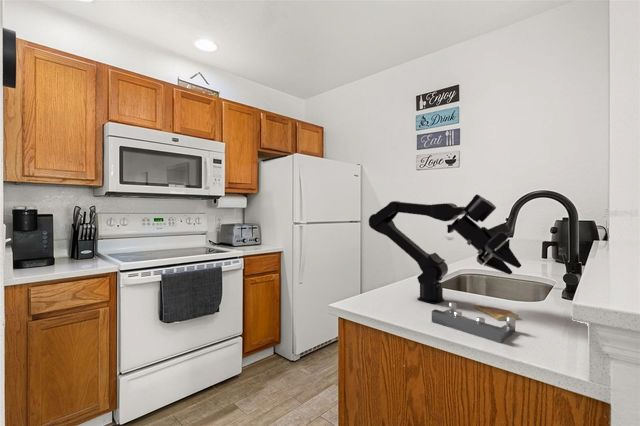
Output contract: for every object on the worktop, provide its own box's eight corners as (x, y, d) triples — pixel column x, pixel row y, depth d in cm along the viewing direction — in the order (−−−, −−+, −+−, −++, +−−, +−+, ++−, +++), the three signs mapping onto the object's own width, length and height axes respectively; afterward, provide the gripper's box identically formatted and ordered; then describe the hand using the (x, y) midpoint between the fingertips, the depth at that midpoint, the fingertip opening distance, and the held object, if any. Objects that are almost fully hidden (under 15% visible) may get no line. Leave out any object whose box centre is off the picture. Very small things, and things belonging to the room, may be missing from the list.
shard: (473, 309, 101) (473, 303, 101) (496, 308, 101) (496, 302, 101) (496, 322, 90) (496, 315, 90) (521, 320, 91) (521, 314, 91)
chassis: (431, 321, 90) (431, 309, 89) (450, 313, 96) (450, 301, 96) (500, 343, 76) (500, 328, 75) (517, 331, 82) (517, 318, 82)
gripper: (497, 204, 92) (547, 243, 85) (485, 225, 109) (526, 259, 102) (468, 229, 92) (516, 270, 84) (460, 247, 108) (500, 283, 101)
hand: (515, 270), depth 93 cm, fingers open, 9 cm apart
